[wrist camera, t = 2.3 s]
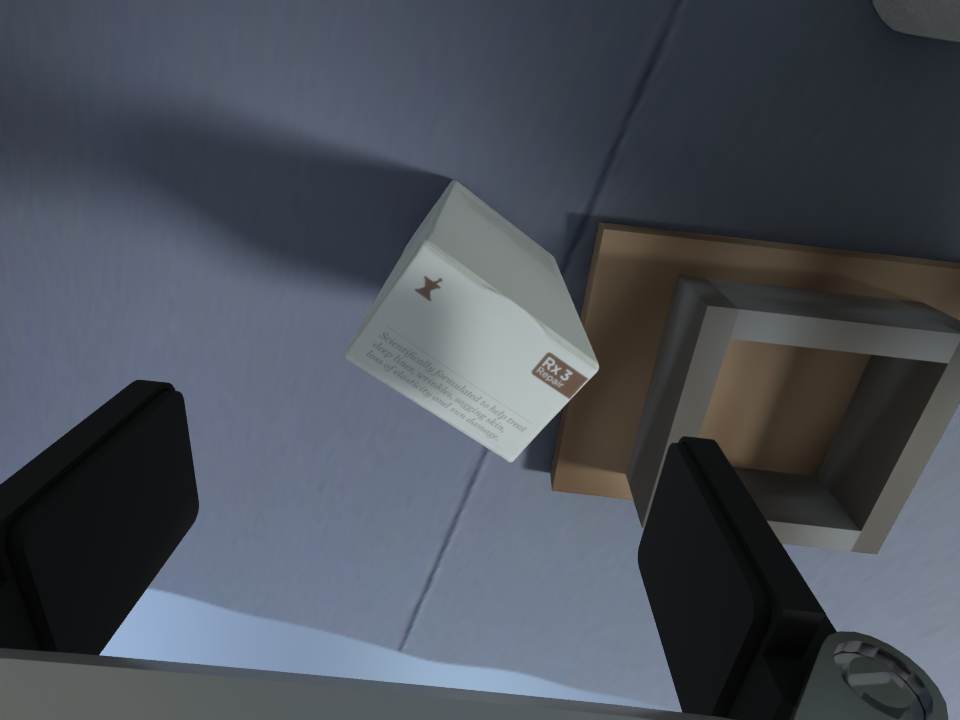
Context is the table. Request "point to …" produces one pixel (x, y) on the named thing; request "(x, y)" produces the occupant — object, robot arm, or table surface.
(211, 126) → the table surface
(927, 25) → the house plant
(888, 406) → the socket
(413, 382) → the skincare box
